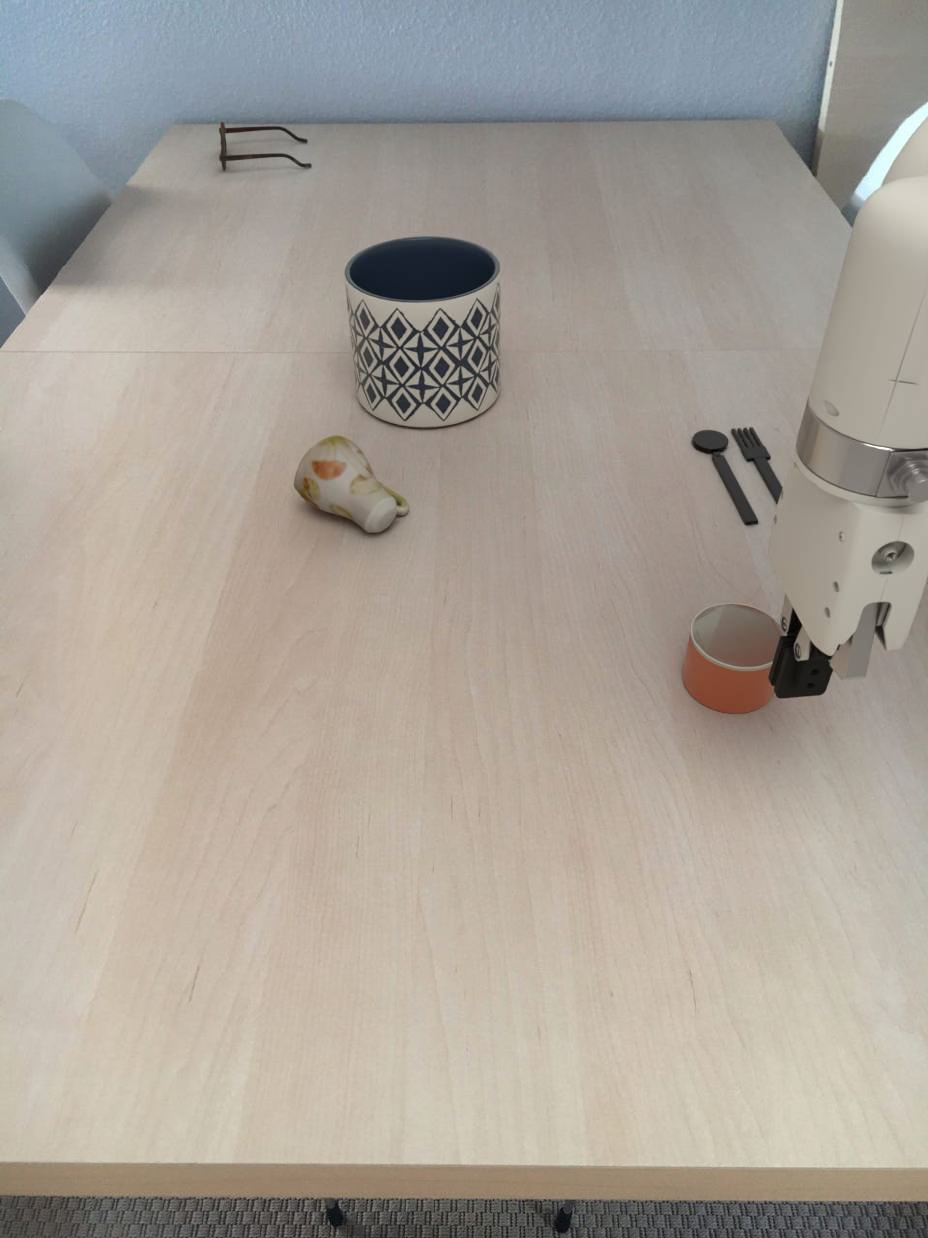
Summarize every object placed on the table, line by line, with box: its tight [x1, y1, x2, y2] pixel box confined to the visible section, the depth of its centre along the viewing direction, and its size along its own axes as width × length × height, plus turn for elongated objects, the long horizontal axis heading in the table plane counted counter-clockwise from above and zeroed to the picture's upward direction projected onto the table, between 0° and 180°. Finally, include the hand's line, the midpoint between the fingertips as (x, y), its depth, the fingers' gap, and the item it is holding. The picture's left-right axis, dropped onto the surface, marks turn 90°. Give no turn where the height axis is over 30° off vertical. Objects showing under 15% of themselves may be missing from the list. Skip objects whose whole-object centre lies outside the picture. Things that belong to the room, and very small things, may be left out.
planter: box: [343, 235, 502, 429], centre depth 105 cm, size 16×16×14 cm
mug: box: [293, 435, 410, 534], centre depth 92 cm, size 8×10×10 cm
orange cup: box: [682, 602, 787, 715], centre depth 76 cm, size 7×7×5 cm
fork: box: [730, 426, 783, 505], centre depth 97 cm, size 16×2×1 cm, turn 6°
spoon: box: [691, 429, 759, 526], centre depth 97 cm, size 15×4×1 cm, turn 6°
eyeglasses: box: [218, 121, 312, 171], centre depth 166 cm, size 15×15×5 cm
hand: (795, 687), depth 63 cm, fingers closed
